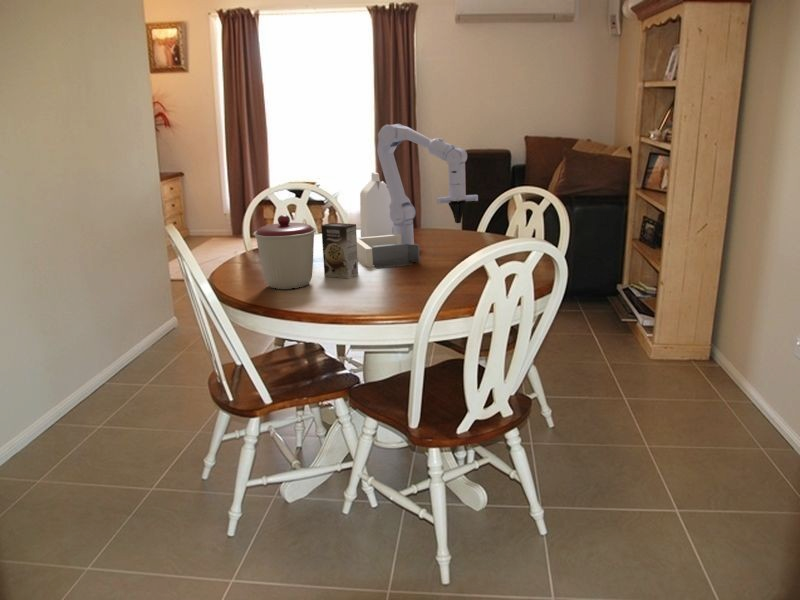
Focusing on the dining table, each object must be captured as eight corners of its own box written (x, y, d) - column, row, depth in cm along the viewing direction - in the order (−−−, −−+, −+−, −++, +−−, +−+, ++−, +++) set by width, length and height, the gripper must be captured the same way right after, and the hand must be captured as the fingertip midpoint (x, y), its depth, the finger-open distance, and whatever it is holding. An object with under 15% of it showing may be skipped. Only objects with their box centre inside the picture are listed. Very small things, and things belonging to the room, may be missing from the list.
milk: (360, 239, 282) (357, 172, 275) (388, 236, 284) (385, 170, 277) (367, 244, 270) (363, 175, 263) (396, 241, 273) (393, 173, 266)
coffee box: (323, 276, 221) (320, 225, 217) (334, 272, 227) (331, 222, 222) (348, 279, 217) (345, 226, 213) (359, 274, 222) (356, 223, 218)
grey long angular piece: (371, 265, 234) (370, 247, 233) (417, 260, 238) (416, 242, 237) (375, 268, 229) (374, 250, 227) (422, 263, 233) (421, 245, 231)
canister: (246, 287, 211) (239, 217, 206) (293, 275, 224) (288, 209, 219) (284, 296, 200) (278, 222, 194) (332, 283, 212) (327, 213, 207)
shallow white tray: (352, 254, 252) (351, 237, 251) (401, 250, 257) (400, 233, 255) (367, 267, 232) (366, 249, 230) (419, 262, 236) (418, 244, 235)
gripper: (440, 186, 240) (442, 226, 244) (481, 183, 244) (481, 222, 247) (434, 184, 247) (435, 223, 250) (473, 181, 250) (474, 219, 254)
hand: (457, 222), depth 249 cm, fingers closed
